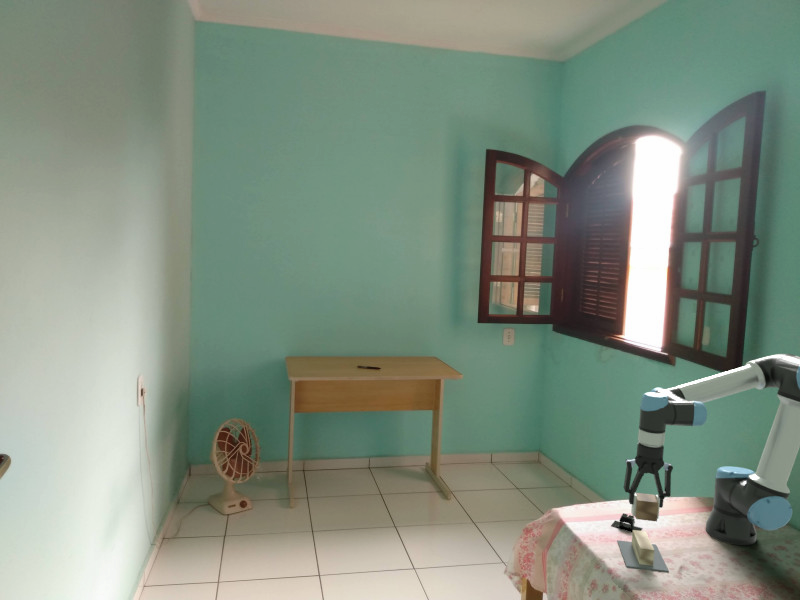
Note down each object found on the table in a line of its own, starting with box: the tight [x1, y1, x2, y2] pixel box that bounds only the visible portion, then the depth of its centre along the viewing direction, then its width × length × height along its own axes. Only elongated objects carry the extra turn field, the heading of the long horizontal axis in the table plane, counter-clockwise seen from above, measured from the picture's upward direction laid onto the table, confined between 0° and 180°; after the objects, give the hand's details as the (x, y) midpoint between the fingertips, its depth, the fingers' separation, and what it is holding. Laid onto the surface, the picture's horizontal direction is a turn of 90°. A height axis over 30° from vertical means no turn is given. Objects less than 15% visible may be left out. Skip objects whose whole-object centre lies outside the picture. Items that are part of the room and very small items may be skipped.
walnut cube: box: [634, 492, 658, 522], centre depth 190 cm, size 6×6×6 cm
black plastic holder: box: [610, 513, 643, 533], centre depth 210 cm, size 12×7×5 cm, turn 55°
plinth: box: [631, 530, 654, 566], centre depth 191 cm, size 4×12×5 cm, turn 170°
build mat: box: [617, 539, 670, 573], centre depth 191 cm, size 12×16×1 cm
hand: (644, 515), depth 190 cm, fingers closed on walnut cube, 6 cm apart
